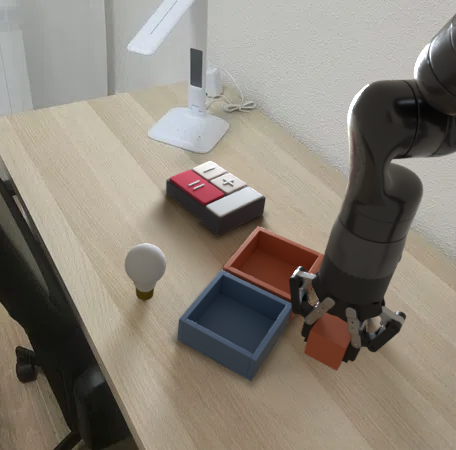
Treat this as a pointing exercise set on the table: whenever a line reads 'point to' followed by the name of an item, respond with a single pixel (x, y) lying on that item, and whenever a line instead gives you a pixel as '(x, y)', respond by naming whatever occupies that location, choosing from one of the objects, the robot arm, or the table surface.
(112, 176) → the table surface
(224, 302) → the blue bin
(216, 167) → the calculator
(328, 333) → the terracotta block
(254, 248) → the terracotta bin
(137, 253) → the light bulb
